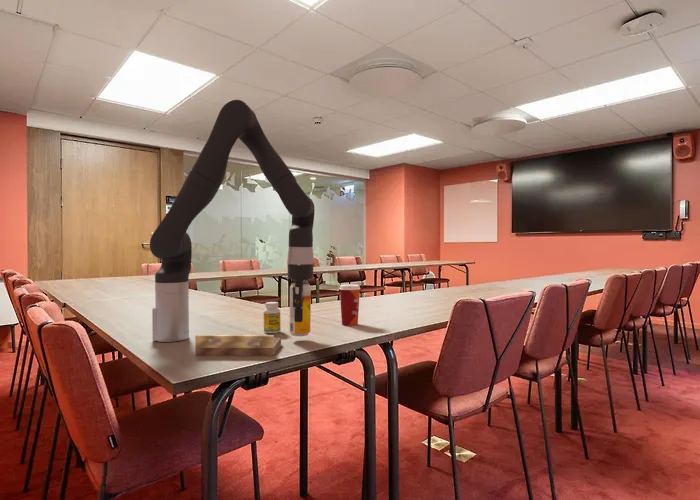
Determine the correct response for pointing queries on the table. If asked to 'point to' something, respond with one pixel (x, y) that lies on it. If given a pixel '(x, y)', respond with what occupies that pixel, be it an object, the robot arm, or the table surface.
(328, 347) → the table surface
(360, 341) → the table surface
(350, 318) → the paper cup
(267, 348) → the tan wooden block
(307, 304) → the orange vitamin bottle
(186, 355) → the table surface
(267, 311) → the supplement bottle
